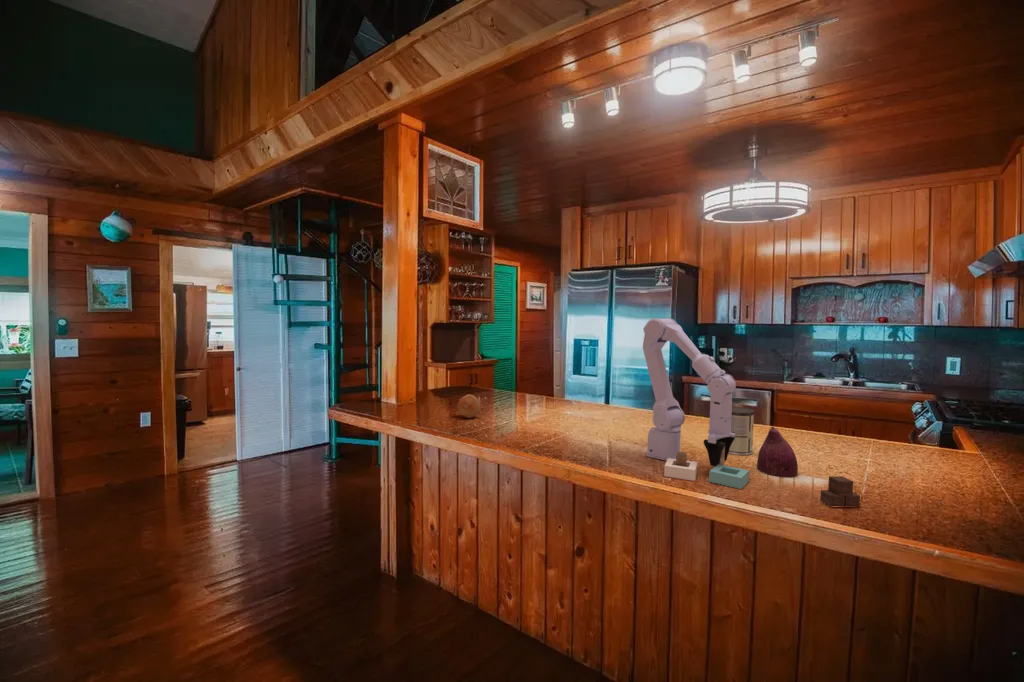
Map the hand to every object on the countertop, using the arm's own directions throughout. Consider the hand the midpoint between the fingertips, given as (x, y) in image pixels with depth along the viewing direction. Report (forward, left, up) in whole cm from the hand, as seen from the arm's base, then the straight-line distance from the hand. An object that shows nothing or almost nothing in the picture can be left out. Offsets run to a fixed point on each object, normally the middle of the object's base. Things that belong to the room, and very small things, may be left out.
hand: (718, 462), depth 136 cm
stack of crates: (+29, -5, -3) cm, 29 cm away
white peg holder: (-7, -11, -2) cm, 13 cm away
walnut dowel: (-7, -11, -2) cm, 13 cm away
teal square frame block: (+5, -8, -2) cm, 10 cm away
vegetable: (+13, +11, -3) cm, 17 cm away
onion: (-102, -1, -2) cm, 102 cm away
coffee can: (-2, +25, -2) cm, 25 cm away
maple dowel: (0, 0, -2) cm, 2 cm away
